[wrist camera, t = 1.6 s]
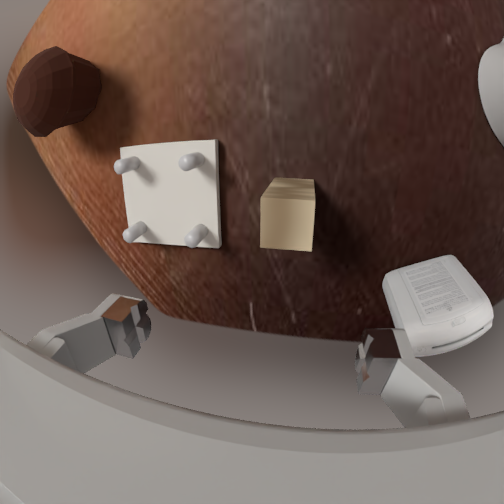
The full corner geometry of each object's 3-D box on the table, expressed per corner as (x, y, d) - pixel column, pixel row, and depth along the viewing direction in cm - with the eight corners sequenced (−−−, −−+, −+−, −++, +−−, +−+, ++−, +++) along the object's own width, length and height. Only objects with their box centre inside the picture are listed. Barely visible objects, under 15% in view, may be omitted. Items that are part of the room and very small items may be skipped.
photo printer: (383, 301, 32) (405, 375, 21) (378, 271, 31) (404, 342, 20) (455, 279, 29) (498, 341, 18) (454, 248, 28) (505, 306, 17)
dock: (218, 139, 28) (204, 141, 25) (221, 244, 33) (210, 259, 30) (124, 146, 30) (104, 150, 27) (135, 238, 35) (118, 251, 32)
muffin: (121, 96, 28) (62, 94, 19) (70, 147, 32) (16, 161, 23) (91, 36, 25) (37, 26, 16) (46, 88, 28) (-5, 92, 20)
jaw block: (313, 179, 28) (315, 200, 20) (311, 216, 30) (311, 251, 22) (274, 177, 29) (260, 197, 21) (274, 214, 31) (260, 247, 23)
